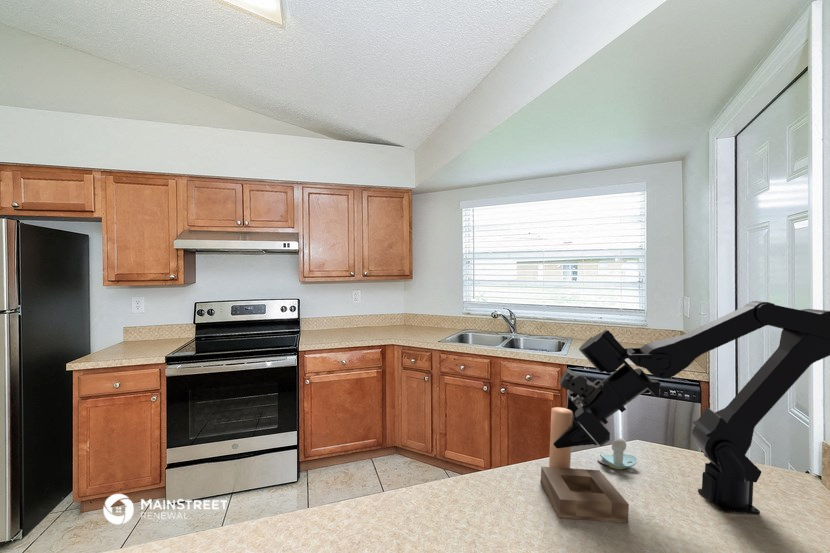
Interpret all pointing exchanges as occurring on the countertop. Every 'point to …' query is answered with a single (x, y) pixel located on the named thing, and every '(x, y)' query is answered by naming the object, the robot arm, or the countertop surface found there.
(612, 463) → the pacifier
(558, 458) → the peg
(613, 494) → the socket block
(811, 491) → the countertop surface
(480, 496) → the countertop surface
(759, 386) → the robot arm
